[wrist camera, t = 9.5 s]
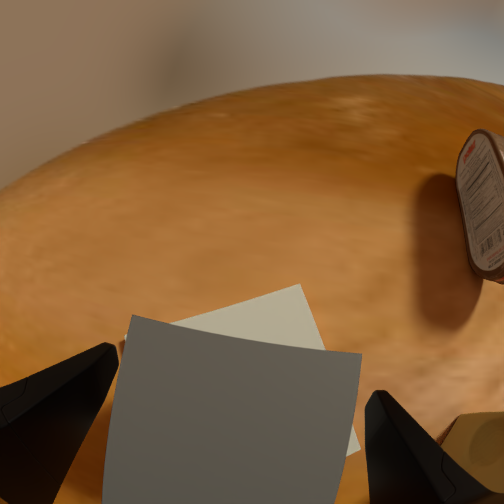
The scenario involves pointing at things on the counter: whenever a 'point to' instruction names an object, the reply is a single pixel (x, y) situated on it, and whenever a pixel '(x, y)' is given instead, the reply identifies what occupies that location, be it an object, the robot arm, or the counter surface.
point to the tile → (267, 325)
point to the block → (227, 420)
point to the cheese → (479, 447)
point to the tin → (483, 202)
